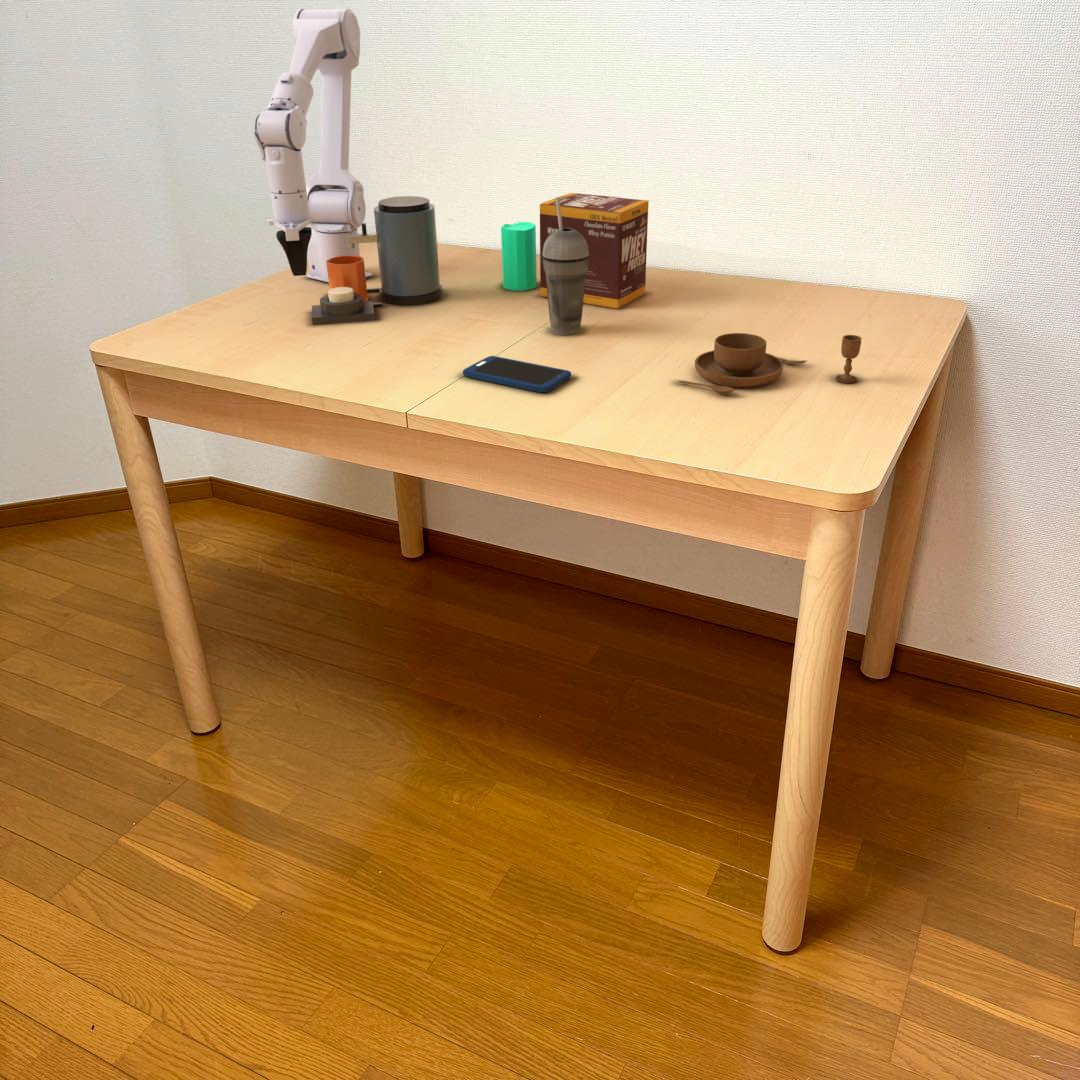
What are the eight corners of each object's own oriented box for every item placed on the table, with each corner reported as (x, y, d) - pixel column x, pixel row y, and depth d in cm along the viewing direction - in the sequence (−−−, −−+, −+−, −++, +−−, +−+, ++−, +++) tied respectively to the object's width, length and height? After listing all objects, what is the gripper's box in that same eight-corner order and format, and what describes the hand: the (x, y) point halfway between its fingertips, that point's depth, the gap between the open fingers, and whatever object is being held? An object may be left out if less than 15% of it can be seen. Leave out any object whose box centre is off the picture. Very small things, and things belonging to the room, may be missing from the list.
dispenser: (330, 311, 169) (318, 212, 161) (330, 293, 178) (318, 199, 170) (446, 303, 172) (439, 205, 164) (439, 286, 181) (433, 193, 173)
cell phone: (490, 359, 147) (490, 354, 146) (573, 376, 140) (573, 371, 140) (460, 375, 141) (460, 370, 141) (545, 393, 135) (545, 388, 134)
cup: (323, 302, 173) (318, 261, 170) (349, 293, 178) (344, 253, 174) (349, 308, 170) (345, 266, 167) (375, 299, 175) (371, 258, 171)
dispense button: (329, 305, 163) (328, 294, 162) (329, 298, 167) (327, 287, 166) (354, 303, 164) (353, 292, 163) (353, 296, 167) (352, 286, 166)
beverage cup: (585, 339, 154) (585, 203, 144) (538, 337, 156) (535, 202, 146) (592, 324, 160) (593, 193, 151) (547, 322, 162) (545, 191, 152)
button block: (312, 325, 163) (310, 306, 161) (312, 312, 169) (310, 294, 167) (375, 320, 164) (373, 302, 163) (373, 308, 170) (371, 290, 169)
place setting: (733, 348, 149) (736, 309, 146) (862, 378, 138) (868, 335, 135) (667, 383, 138) (669, 341, 135) (802, 418, 127) (808, 373, 124)
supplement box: (619, 309, 167) (621, 211, 159) (539, 296, 174) (537, 202, 167) (647, 293, 175) (650, 199, 167) (569, 281, 182) (569, 191, 174)
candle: (538, 281, 183) (537, 212, 177) (534, 290, 177) (533, 220, 171) (505, 281, 183) (502, 212, 177) (500, 290, 178) (498, 220, 172)
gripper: (264, 183, 169) (276, 265, 176) (260, 201, 157) (273, 288, 163) (307, 180, 170) (318, 262, 177) (307, 198, 158) (318, 285, 165)
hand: (299, 274), depth 170 cm, fingers closed
